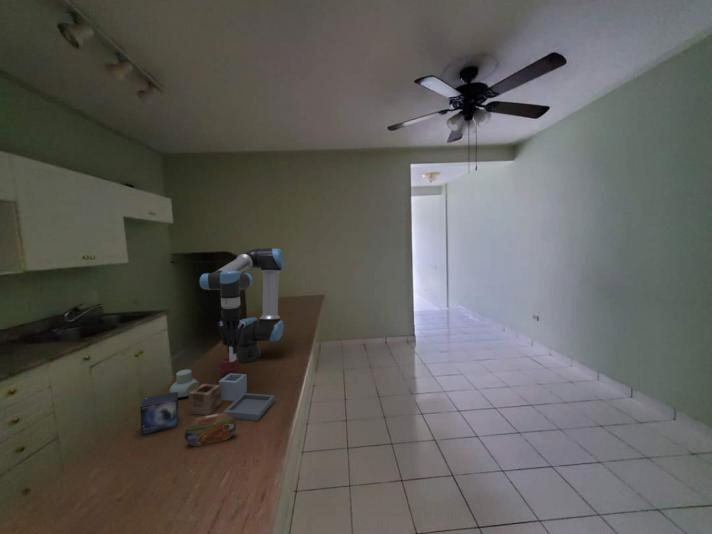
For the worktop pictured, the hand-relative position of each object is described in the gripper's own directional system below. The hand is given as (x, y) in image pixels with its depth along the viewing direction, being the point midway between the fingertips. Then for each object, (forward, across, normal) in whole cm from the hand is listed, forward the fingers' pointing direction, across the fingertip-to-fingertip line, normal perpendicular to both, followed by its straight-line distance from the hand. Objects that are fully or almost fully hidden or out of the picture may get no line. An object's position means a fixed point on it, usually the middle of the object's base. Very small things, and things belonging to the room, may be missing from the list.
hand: (233, 360), depth 121 cm
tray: (+15, +13, -10) cm, 22 cm away
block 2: (+15, 0, -1) cm, 15 cm away
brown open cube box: (+15, -5, -12) cm, 20 cm away
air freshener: (+16, -22, -3) cm, 27 cm away
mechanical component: (+16, -9, +10) cm, 21 cm away
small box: (+15, -13, -25) cm, 32 cm away
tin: (+15, +10, -29) cm, 34 cm away
